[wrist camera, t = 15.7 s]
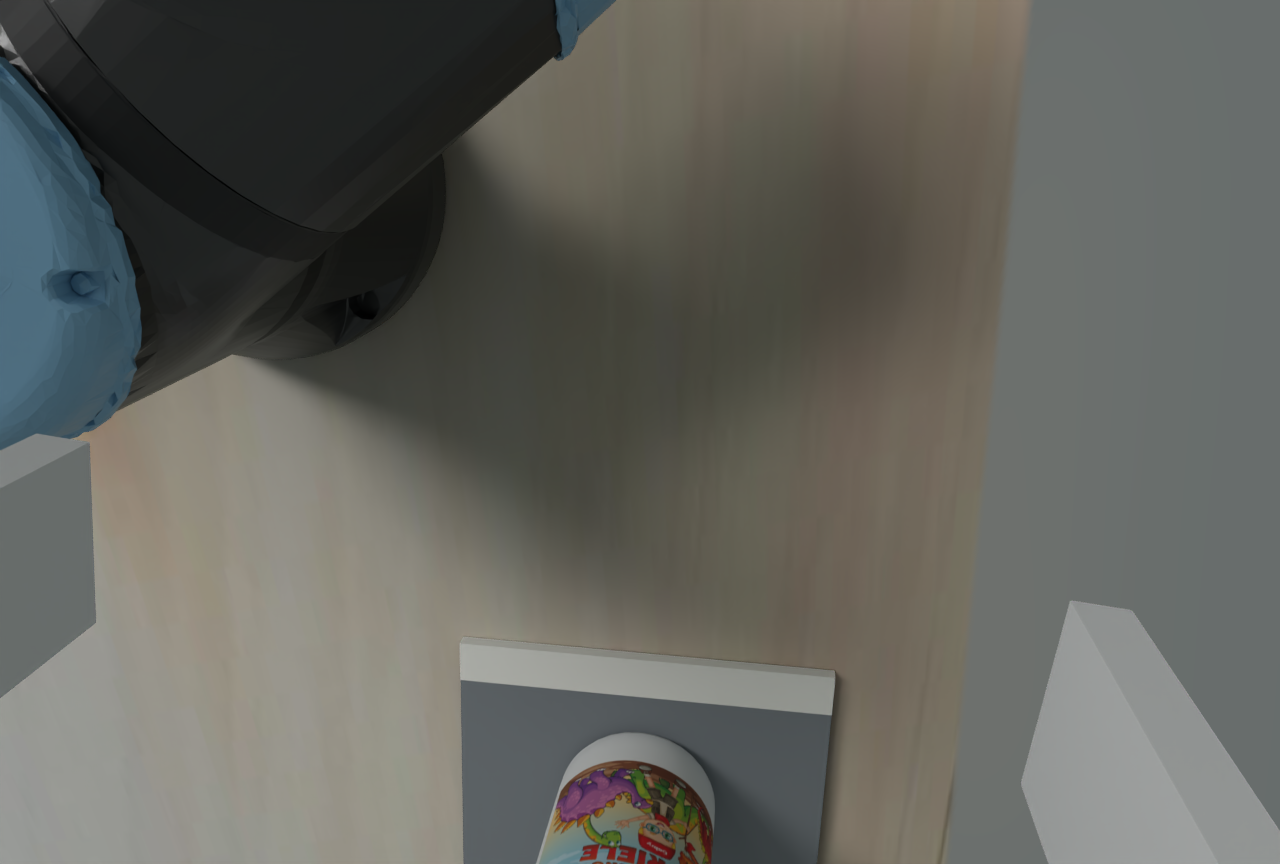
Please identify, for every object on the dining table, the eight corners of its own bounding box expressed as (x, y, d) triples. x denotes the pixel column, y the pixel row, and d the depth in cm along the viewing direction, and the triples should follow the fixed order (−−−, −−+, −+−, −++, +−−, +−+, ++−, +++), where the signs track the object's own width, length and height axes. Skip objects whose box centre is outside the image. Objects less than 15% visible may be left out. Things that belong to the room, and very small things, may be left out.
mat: (466, 866, 58) (463, 875, 58) (463, 636, 54) (459, 643, 54) (811, 905, 56) (812, 915, 56) (834, 670, 52) (835, 677, 52)
